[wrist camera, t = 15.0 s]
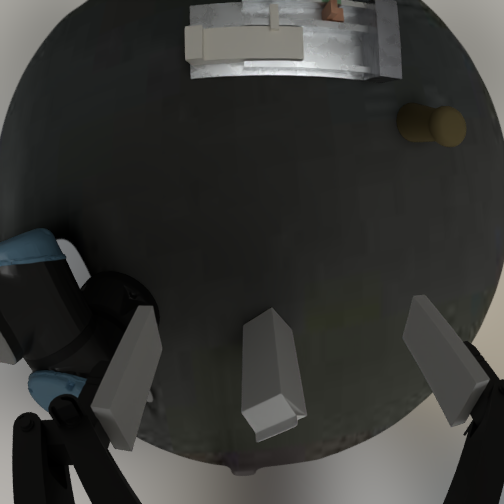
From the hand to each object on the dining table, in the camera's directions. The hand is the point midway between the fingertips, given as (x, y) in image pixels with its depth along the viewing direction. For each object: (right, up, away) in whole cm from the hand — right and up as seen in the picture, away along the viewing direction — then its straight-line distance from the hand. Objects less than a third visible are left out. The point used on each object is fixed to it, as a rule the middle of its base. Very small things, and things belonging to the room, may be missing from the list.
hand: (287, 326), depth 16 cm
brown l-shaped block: (+9, +36, +18) cm, 41 cm away
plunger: (-3, +31, +20) cm, 37 cm away
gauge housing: (+3, +32, +21) cm, 38 cm away
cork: (+22, +23, +25) cm, 40 cm away
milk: (+1, -9, +39) cm, 40 cm away
